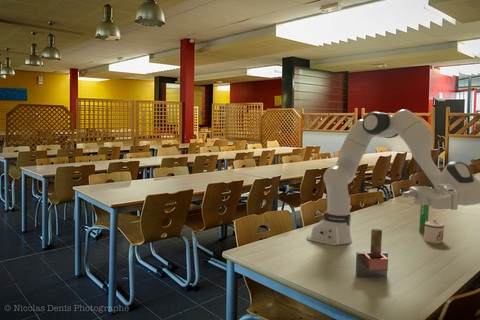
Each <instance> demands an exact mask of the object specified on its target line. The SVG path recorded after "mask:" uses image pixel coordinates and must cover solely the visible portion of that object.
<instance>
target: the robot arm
mask: <svg viewBox="0 0 480 320" xmlns="http://www.w3.org/2000/svg"><path fill="white" fill-rule="evenodd" d="M398 136H399V137H400V138H401V139H402V140H403V141H404V143H405V144H406V146H407V147H408V149H409V151H410V153H411V156H412V159H413V160H414V162H415V163H416V164H417V167H418V168H419V169H420V171H421V172H422V174H423V175H424V176H425V178H426V179H427V181H428V182H429V185H430V186H431V187H430V186H426V185H421V186H419V185H417V186H416V185H415V186H414V185H413V186H409V187H408V191H404V192H403V191H402V193H401V196H402V197H403V198H409V197H411V198H413V203H414V204H415V205H421V204H423V205H429V207H431V208H432V209H434V210H451V211H456V210H458V206H465V207H467V206H475V205H478V204H479V205H480V179H479V178H477V177H476V176H475V175H474V174H473V172H472V170H471V168H470V167H469V165H468V164H466V163H464V162H463V161H458V160H454V161H450V162H448V163H447V164H446V165H445V166H444V168H443V169H442V171H441V170H440V168H439V167H438V166H437V165H436V164H435V162H434V160H433V158H432V145H433V144H432V143H433V140H434V139H433V137H434V135H433V133H432V131H431V129H430V127H429V126H428V125H427V124H426V123H425V122H424V121H423V120H422V119H421V118H420V117H419V116H418V115H416V114H415V113H413V112H412V111H410V110H409V109H406V108H405V109H400V110H398V111H396V112H395V113H394V114H393V115H392V114H389V113H385V112H380V111H370V112H368V113H367V114H365V116H364V117H363V118H361V119H358V120H356V122H355V123H353V125H352V127H351V128H350V130H349V132H348V133H347V135H346V137H345V139H344V141H343V143H342V145H341V147H340V149H339V154H338V157H337V161H336V163H335V165H331V166H330V167H328V168H327V169H326V170H325V172H324V173H323V176H322V177H323V182H324V185H325V189H326V195H327V207H326V208H327V209H326V210H325V211H324V212H323V213H322V214H323V215H322V218H323V219H321V220H320V221H319V222H317V223H315V224H314V225H313V227H312V229H311V232H310V233H308V234H307V237H306V239H307V241H311V242H315V243H321V244H326V245H330V246H339V245H347V244H351V243H353V240H352V236H351V228H350V227H351V220H352V217H351V211H350V210H351V197H350V194H349V189H348V186H349V184H351V183H352V182H353V181H354V179H355V177H356V174H357V172H358V168H359V166H360V162H361V161H362V158H363V156H364V155H365V152H366V150H367V149H368V146H369V145H370V143H371V141H372V140H373V138H374V137H377V138H386V139H392V138H396V137H398Z"/></svg>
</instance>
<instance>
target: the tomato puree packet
mask: <svg viewBox="0 0 480 320" xmlns="http://www.w3.org/2000/svg"><path fill="white" fill-rule="evenodd" d="M429 207H430V206H429V205H423V204H420V213H419V214H420V215H419V229H418V230H419V231H418V232H419V233H421V232H422V231H425V222H429V209H430V208H429Z"/></svg>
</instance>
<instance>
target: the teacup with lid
mask: <svg viewBox="0 0 480 320" xmlns="http://www.w3.org/2000/svg"><path fill="white" fill-rule="evenodd" d="M444 229H445V225H444V223H443V222H440V221H438V220H437V219H436V218H432V220H430V221H429V220H428V222H425V229H424V235H423V236H424V237H423V241H424V242H427V243H430V244H436V245H437V244H442V243H444Z"/></svg>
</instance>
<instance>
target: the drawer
mask: <svg viewBox="0 0 480 320" xmlns="http://www.w3.org/2000/svg"><path fill="white" fill-rule="evenodd" d="M355 252H356V253H355V254H356V257H355V277H357V278H378V277H379V278H387V277H388V269H389V253H388V251H381V258H370V252H371V251H360V252H359V251H355Z"/></svg>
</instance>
